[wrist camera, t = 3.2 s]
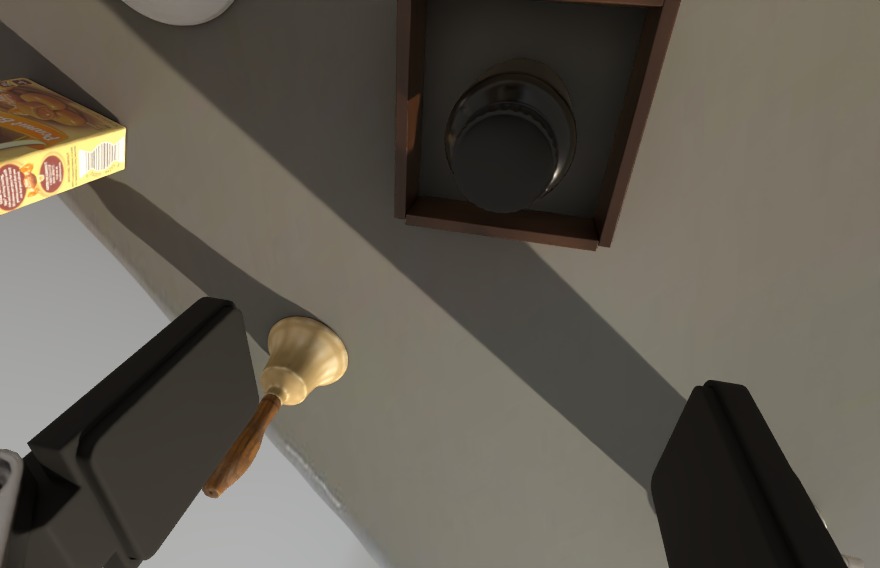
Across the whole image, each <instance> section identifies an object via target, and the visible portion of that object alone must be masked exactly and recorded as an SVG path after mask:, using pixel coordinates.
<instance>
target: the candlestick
mask: <svg viewBox="0 0 880 568" xmlns="http://www.w3.org/2000/svg"><path fill="white" fill-rule="evenodd" d="M122 1H123V2H124V3H126V4H127V5H128V6H130V7H131V8H133V9H134V10H136V11H137V12H139V13H141V14H143V15H144V16H146V17H149V18H151V19H153V20H156V21H159V22H162V23H166V24H171V25H197V24H201V23H205V22H208V21H210V20H212V19H214V18H216V17H217V16H219V15H220V14H222V13H223V12H224V11H225V10H226V9H228V7H229V6H230V5H231V4H232V3H233V2H234V0H122Z"/></svg>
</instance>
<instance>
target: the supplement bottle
mask: <svg viewBox="0 0 880 568" xmlns="http://www.w3.org/2000/svg"><path fill="white" fill-rule="evenodd" d="M576 143H577V129H576V122H575V117H574V113H573V109H572V105H571V100H570V96H569V93H568V91H567V88H566V86H565V84H564V82H563V81H562V79H561V78H560V77H559V75H558V74H557V73H556V72H555V71H554V70H552V69H551V68H550V67H548V66H547V65H545V64H543V63H541V62H538V61H536V60H532V59H525V58H518V59H511V60H507V61H504V62H501V63H499V64H497V65H495V66H493V67H492V68H490V69H489V70H488V71H486V72H485V73H484V74H483V75H482V76H481V77H480V78H479V79H478V80H477V81H476V82H475V83H474V84H473V85H472V86H471V87H470V88H469V89H468V90H467V91H466V92H465V93H464V94H463V95H462V96H461V97H460V99H459V100H458V101H457V103H456V104H455V106H454V108H453V110H452V112H451V114H450V117H449V119H448V122H447V126H446V131H445V151H446V157H447V160H448V164H449V166H450V169H451V171H452V173H453V175H454V179H455V180H456V182H457V186H458V188H459V189H460V190H462V194H463V195H464V196H465V197H467V198H468V200H469V201H470V202H471V203H474V204H475V205H476V206H477V207H479V208H483V209H485V210H486V211H493V212H495V213H500V212H502V213H509V212H517V211H518V210H520V209H526V208H527V207H528V206H529V205H532V204H534V203H535V202H536V200H538V199H540V198H542V197H543V196H545V195H546V194H548V193H549V192H550V191H552V190H553V189H554V188H555V187H556V186H557V185H558V184H559V183H560V182H561V180H562V179H563V178H564V176H565V175H566V173H567V172H568V170H569V168H570V166H571V164H572V161H573V158H574V154H575V150H576Z"/></svg>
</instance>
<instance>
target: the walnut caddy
mask: <svg viewBox="0 0 880 568" xmlns="http://www.w3.org/2000/svg"><path fill="white" fill-rule="evenodd" d="M535 1H549V2H563V3H578V4H592V5H607V6H621V7H635V8H648V9H647V13H646V16H645V20H644V24H643V28H642V32H641V36H640V40H639V44H638V48H637V52H636V56H635V60H634V63H633V67H632V71H631V75H630V79H629V83H628V87H627V91H626V95H625V99H624V103H623V107H622V111H621V114H620V118H619V122H618V126H617V130H616V134H615V138H614V142H613V146H612V150H611V154H610V158H609V161H608V165H607V169H606V173H605V177H604V181H603V185H602V189H601V193H600V197H599V201H598V205H597V209H596V212H595V216H594V219H593V218H586V217H579V216H571V215H563V214H556V213H548V212H541V211H533V210H525V209H520V210H518V211H517V212H509V213H502V212H500V213H495V212H493V211H486V210H485V209H483V208H479V207H477V206H476V205H475V204H474V203H471V202H464V201H457V200H449V199H441V198H434V197H426V196H419V178H420V154H421V130H422V107H423V83H424V60H425V36H426V12H427V0H397V70H396V141H395V211H394V217H395V218H401V219H405V218H406V225H413V226H420V227H427V228H434V229H441V230H448V231H456V232H463V233H470V234H477V235H484V236H491V237H498V238H505V239H512V240H520V241H527V242H534V243H541V244H548V245H555V246H562V247H569V248H577V249H584V250H591V251H597V248H598V246H603V247H611V244H612V241H613V237H614V234H615V230H616V227H617V223H618V220H619V216H620V213H621V209H622V206H623V202H624V199H625V195H626V192H627V188H628V185H629V181H630V178H631V174H632V171H633V167H634V164H635V160H636V157H637V153H638V150H639V146H640V143H641V139H642V136H643V132H644V129H645V125H646V122H647V118H648V115H649V111H650V107H651V104H652V100H653V97H654V93H655V90H656V86H657V83H658V79H659V76H660V72H661V69H662V65H663V62H664V58H665V55H666V51H667V48H668V44H669V41H670V37H671V34H672V30H673V27H674V23H675V20H676V16H677V13H678V9H679V6H680V2H681V0H535Z"/></svg>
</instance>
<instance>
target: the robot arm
mask: <svg viewBox="0 0 880 568" xmlns="http://www.w3.org/2000/svg"><path fill="white" fill-rule="evenodd" d="M258 405H259V395H258V390H257V385H256V380H255V375H254V370H253V366H252V361H251V356H250V351H249V346H248V341H247V336H246V331H245V326H244V321H243V316H242V313H241V311H240V310H239V309H237V308H236V306H235V304H234V303H233V302H232V301H229V300H223V299H217V298H211V297H202V298H201V299H199V300H198V301H197V302H195V303H194V304H193V305H192V306H191V307H189V308H188V309H187V310H186V311H185V312H183V313H182V314H181V315H180V316H179V317H177V318H176V319H175V320H174V321H173V322H171V323H170V324H169V325H168V326H167V327H166V328H164V329H163V330H162V331H161V332H160V333H158V334H157V335H156V336H155V337H154V338H152V339H151V340H150V341H149V342H148V343H147V344H145V345H144V346H143V347H142V348H141V349H139V350H138V351H137V352H136V353H134V354H133V355H132V356H131V357H130V358H128V359H127V360H126V361H125V362H124V363H122V364H121V365H120V366H119V367H118V368H116V369H115V370H114V371H113V372H112V373H110V374H109V375H108V376H107V377H106V378H104V379H103V380H102V381H101V382H100V383H98V384H97V385H96V386H95V387H94V388H93V389H91V390H90V391H89V392H88V393H87V394H85V395H84V396H83V397H82V398H81V399H79V400H78V401H77V402H76V403H75V404H73V405H72V406H71V407H70V408H69V409H67V410H66V411H65V412H64V413H63V414H61V415H60V416H59V417H58V418H57V419H55V420H54V421H53V422H52V423H51V424H50V425H48V426H47V427H46V428H45V429H43V430H42V431H41V432H40V433H39V434H37V435H36V436H35V437H34V438H33V439H31V440H30V441H29V442H28V443H27V444H28V445H29V447H30V449H31V450H32V451H31V452H30V453H29V454H27V455H26V456H25V457H24V458H23V459H22V458H21V457H20V456H19V454H18V453H16V452H13V451H10V450H7V449H0V568H137V567H138V566H139V565H140V564H141V562H142V561H143V560H147V559H149V558H151V557H152V556H153V555H154V554H155V553H156V552H157V550H158V549H159V548H160V546H161V545H162V543H163V542H164V541H165V539H166V538H167V536H168V535H169V534H170V532H171V531H172V529H173V528H174V527H175V525H176V524H177V522H178V521H179V520H180V518H181V517H182V515H183V514H184V512H185V511H186V510H187V508H188V507H189V506H190V504H191V503H192V501H193V500H194V498H195V497H196V496H197V494H198V493H199V492H200V490H201V489H202V487H203V486H204V485H205V483H206V482H207V480H208V479H209V478H210V476H211V475H212V473H213V472H214V471H215V469H216V468H217V466H218V465H219V464H220V462H221V461H222V459H223V458H224V457H225V455H226V454H227V452H228V451H229V450H230V448H231V447H232V445H233V444H234V443H235V441H236V440H237V438H238V437H239V436H240V434H241V433H242V431H243V430H244V429H245V427H246V426H247V424H248V423H249V422H250V420H251V419H252V417H253V416H254V414H255V413H256V411H257V408H258ZM651 491H652V496H653V500H654V505H655V509H656V513H657V518H658V522H659V526H660V531H661V535H662V539H663V544H664V548H665V552H666V556H667V561H668V565H669V568H865V566H864V564H863V562H862V561H861V559H859V558H856V557H851V556H847V555H841V554H840V552H839V550H838V548H837V547H836V545H835V543H834V541H833V539H832V538H831V536H830V534H829V532H828V530H827V526H826V523H825V521H824V520H823V518H822V516H821V514H820V512H819V511H818V510H817V508H816V507H815V506H814V505H813V503H812V502H811V500H810V498H809V496H808V494H807V493H806V491H805V489H804V487H803V485H802V484H801V482H800V480H799V478H798V477H797V476H796V474H795V473H794V472H793V470H792V469H791V467H790V465H789V463H788V461H787V460H786V458H785V456H784V454H783V452H782V451H781V449H780V447H779V445H778V443H777V441H776V440H775V438H774V436H773V434H772V432H771V431H770V429H769V427H768V425H767V423H766V421H765V420H764V418H763V416H762V414H761V412H760V411H759V409H758V407H757V405H756V403H755V402H754V400H753V398H752V396H751V394H750V392H749V391H748V389H747V388H746V387H745V386H743V385H739V384H733V383H727V382H721V381H715V380H708V381H707V382H705V384H704V385H703V386H696V387H695V388H694V389H693V391H692V393H691V395H690V397H689V399H688V401H687V403H686V405H685V407H684V410H683V412H682V414H681V416H680V418H679V420H678V422H677V424H676V426H675V429H674V431H673V433H672V435H671V437H670V439H669V441H668V443H667V445H666V448H665V450H664V452H663V454H662V456H661V458H660V460H659V462H658V464H657V467H656V469H655V471H654V473H653V476H652V481H651Z"/></svg>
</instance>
